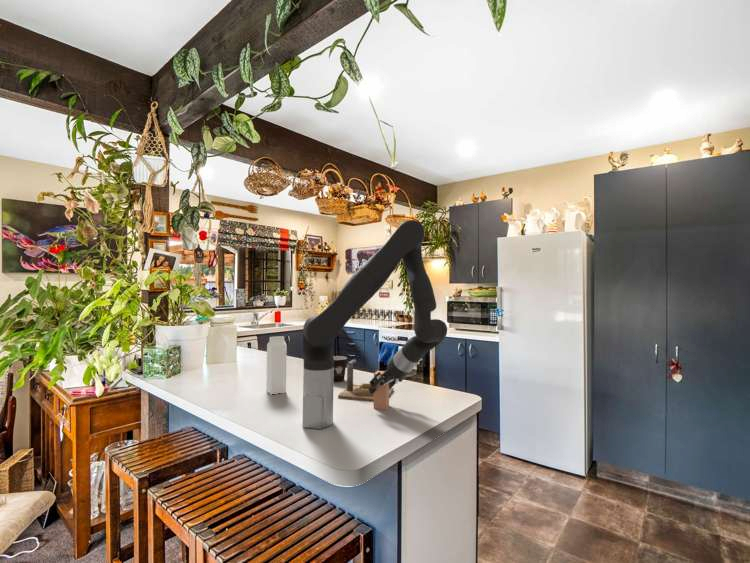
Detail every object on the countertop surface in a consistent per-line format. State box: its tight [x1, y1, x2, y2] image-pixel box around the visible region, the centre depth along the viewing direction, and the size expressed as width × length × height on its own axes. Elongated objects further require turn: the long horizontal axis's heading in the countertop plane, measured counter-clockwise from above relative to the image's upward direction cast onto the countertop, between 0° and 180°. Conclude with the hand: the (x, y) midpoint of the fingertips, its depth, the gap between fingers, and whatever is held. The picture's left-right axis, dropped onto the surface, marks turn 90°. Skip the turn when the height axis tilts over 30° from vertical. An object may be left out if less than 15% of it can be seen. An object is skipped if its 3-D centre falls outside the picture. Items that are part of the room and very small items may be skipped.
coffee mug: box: [333, 355, 348, 383], centre depth 167 cm, size 12×9×10 cm
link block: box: [373, 370, 390, 410], centre depth 132 cm, size 4×4×12 cm
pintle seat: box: [337, 359, 394, 402], centre depth 146 cm, size 16×18×12 cm
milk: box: [265, 335, 288, 396], centre depth 148 cm, size 6×6×22 cm
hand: (379, 389), depth 133 cm, fingers open, 8 cm apart
